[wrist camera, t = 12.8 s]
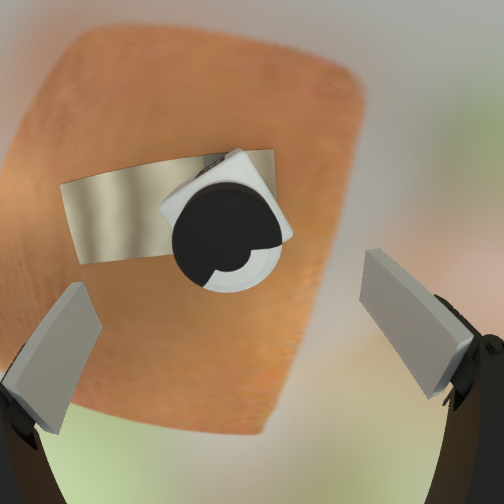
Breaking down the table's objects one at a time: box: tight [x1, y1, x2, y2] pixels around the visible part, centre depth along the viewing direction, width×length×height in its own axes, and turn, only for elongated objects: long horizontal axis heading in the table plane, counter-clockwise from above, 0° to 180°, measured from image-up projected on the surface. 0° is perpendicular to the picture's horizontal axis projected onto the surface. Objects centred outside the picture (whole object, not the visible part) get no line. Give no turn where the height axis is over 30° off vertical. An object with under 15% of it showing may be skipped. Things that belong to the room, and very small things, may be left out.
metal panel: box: [60, 149, 277, 265], centre depth 27 cm, size 24×10×1 cm, turn 94°
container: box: [158, 148, 294, 293], centre depth 21 cm, size 8×8×13 cm
